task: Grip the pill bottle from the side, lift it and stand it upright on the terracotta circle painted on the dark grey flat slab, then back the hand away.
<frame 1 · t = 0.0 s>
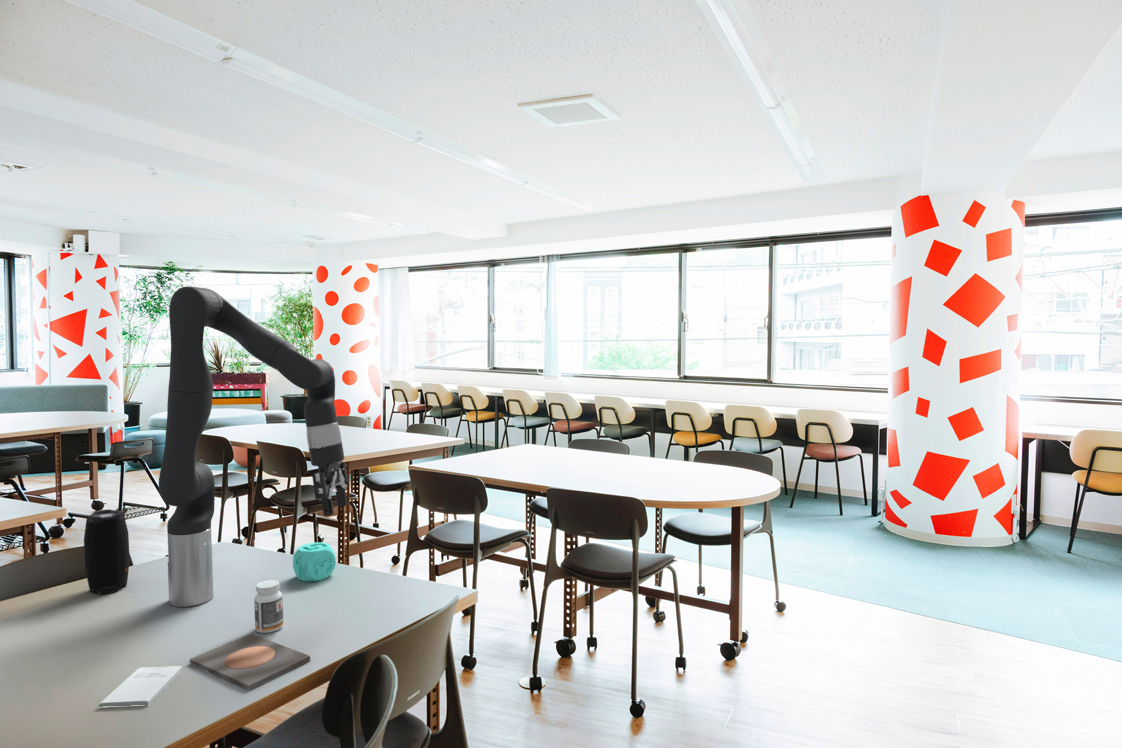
hand: (336, 510, 159), 22 cm above the table, tool pointing down, fingers open, 8 cm apart
pill bottle: (269, 629, 146), on the table
dark grey flat slab: (250, 662, 131), on the table
decorative dice: (314, 577, 178), on the table
portable speaker: (108, 589, 169), on the table
external hard drive: (143, 692, 121), on the table
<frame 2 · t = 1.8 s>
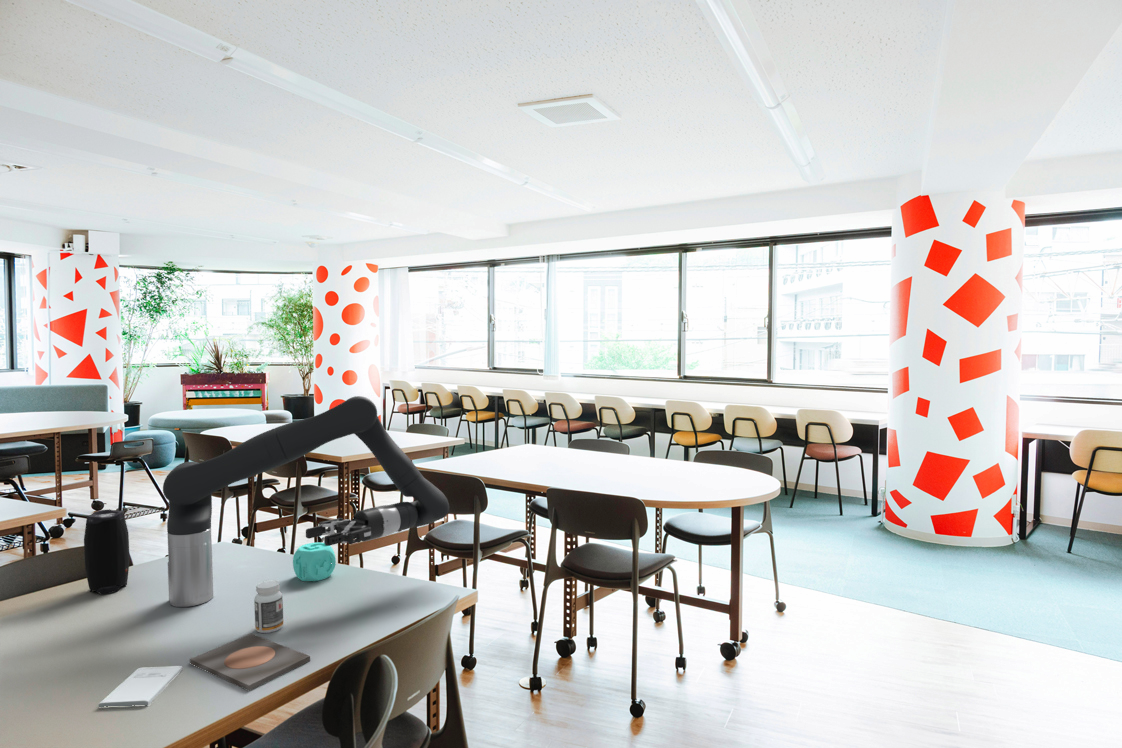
hand: (315, 537, 153), 18 cm above the table, tool horizontal, fingers open, 8 cm apart
nothing on the table moved.
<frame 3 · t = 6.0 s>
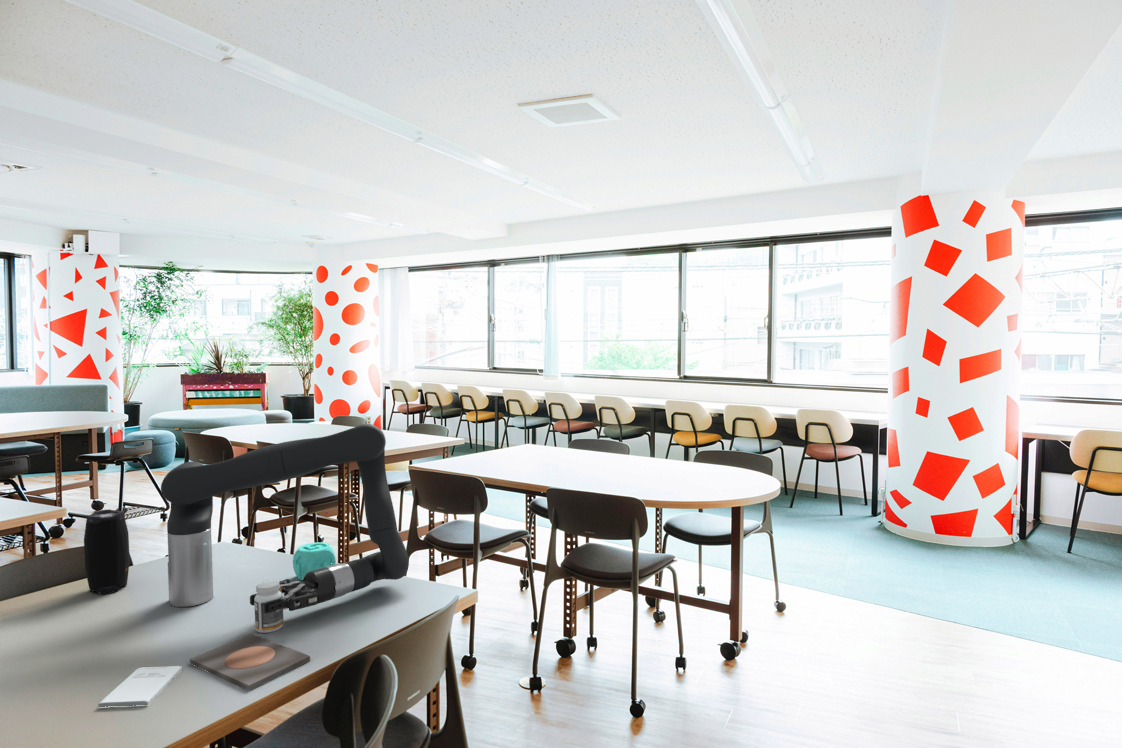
hand: (257, 604, 144), 6 cm above the table, tool horizontal, fingers closed on pill bottle, 5 cm apart
pill bottle: (269, 629, 146), on the table, touching gripper
everything else where it was.
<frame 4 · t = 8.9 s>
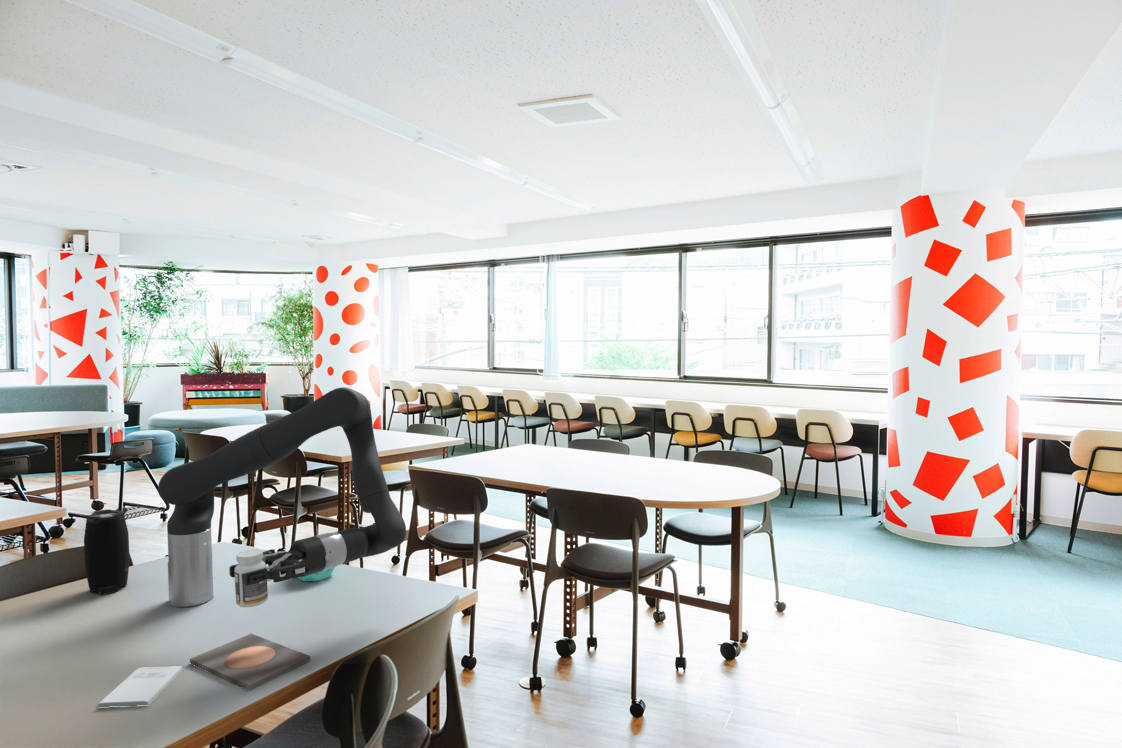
hand: (237, 575, 128), 18 cm above the table, tool horizontal, fingers closed on pill bottle, 5 cm apart
pill bottle: (252, 603, 131), point 11 cm above the table, touching gripper
everything else where it was.
when the fingers open (8 cm above the table, at t = 11.8 s): pill bottle stays where it is, resting on dark grey flat slab.
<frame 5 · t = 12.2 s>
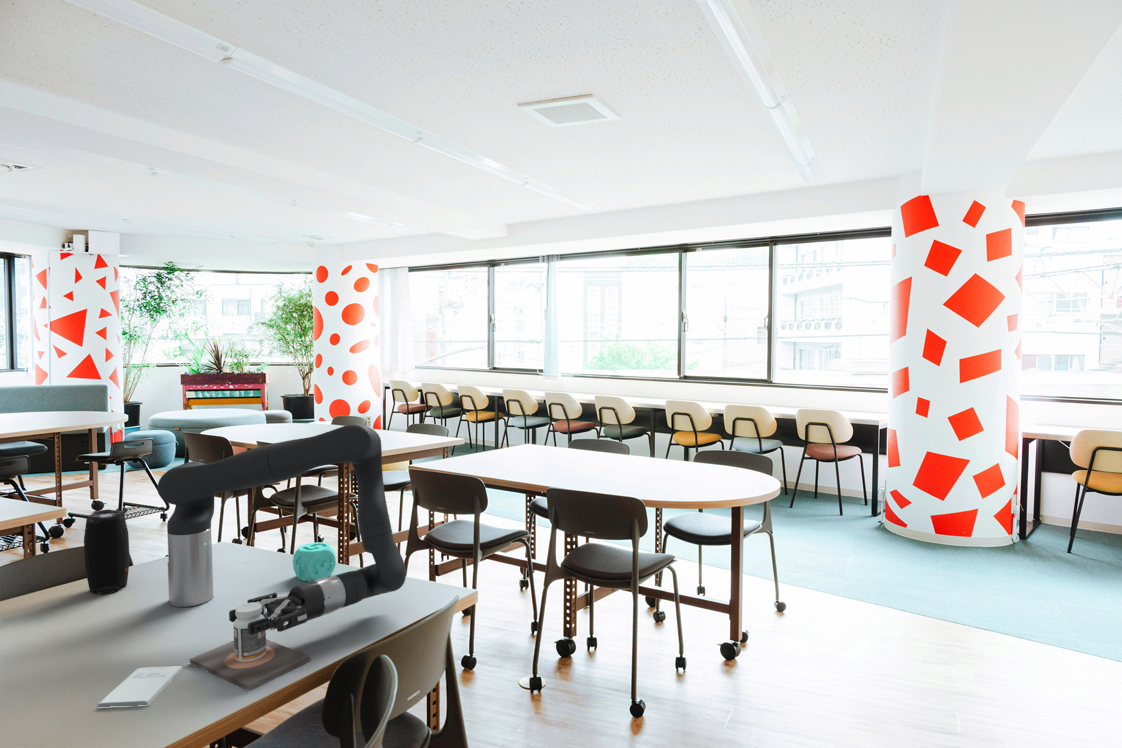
hand: (239, 623, 129), 9 cm above the table, tool horizontal, fingers open, 8 cm apart
pill bottle: (250, 657, 131), point 1 cm above the table, touching dark grey flat slab
everything else where it was.
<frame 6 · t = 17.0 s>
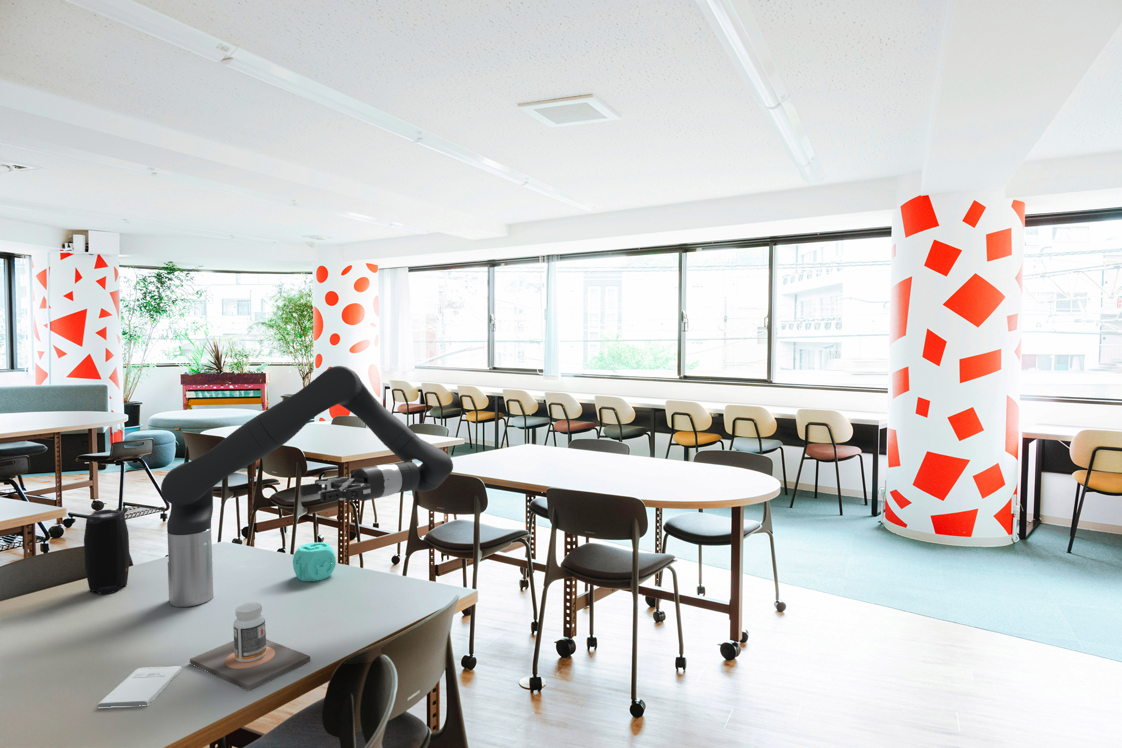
hand: (311, 494, 143), 30 cm above the table, tool horizontal, fingers open, 8 cm apart
nothing on the table moved.
at the end: pill bottle 0.2 cm off-centre on the dark grey flat slab, point 0.9 cm above the dark grey flat slab's base; pill bottle tilted 0°; the gripper is holding nothing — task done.
